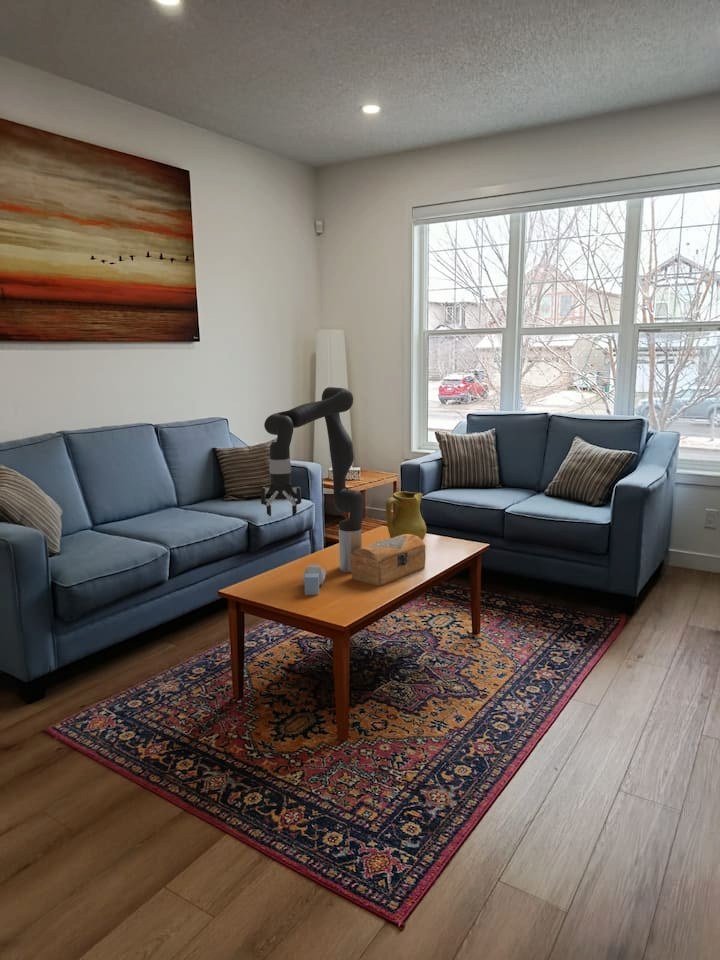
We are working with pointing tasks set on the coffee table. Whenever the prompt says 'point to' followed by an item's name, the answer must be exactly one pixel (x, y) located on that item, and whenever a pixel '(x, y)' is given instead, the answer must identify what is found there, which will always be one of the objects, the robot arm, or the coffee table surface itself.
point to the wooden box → (388, 559)
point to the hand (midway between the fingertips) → (281, 515)
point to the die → (315, 569)
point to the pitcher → (405, 515)
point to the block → (311, 583)
